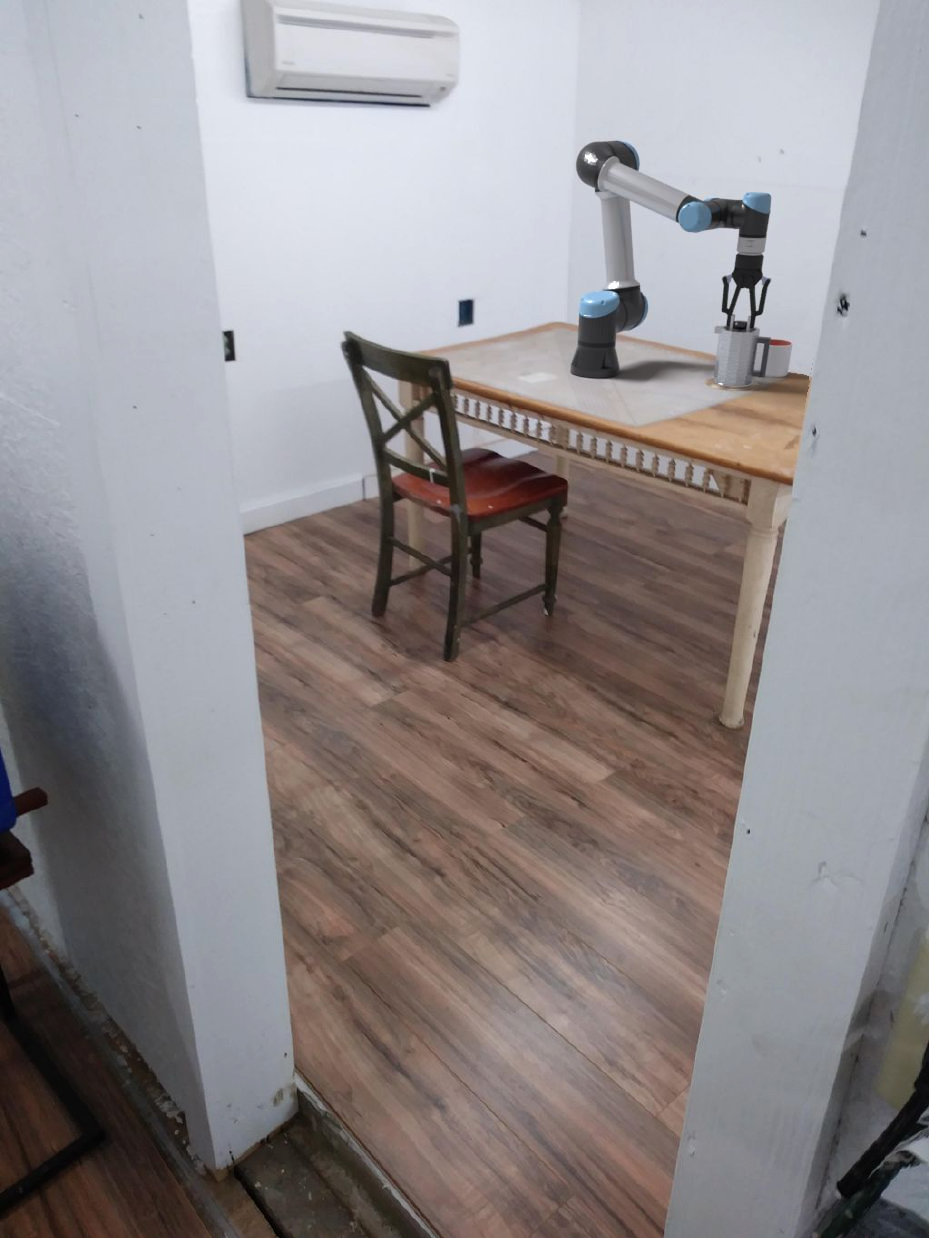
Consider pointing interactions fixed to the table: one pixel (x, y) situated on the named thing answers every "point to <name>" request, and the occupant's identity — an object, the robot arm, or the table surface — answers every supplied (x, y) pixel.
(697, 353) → the table surface
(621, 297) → the robot arm
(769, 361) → the cup
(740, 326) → the plunger
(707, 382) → the trivet
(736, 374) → the carafe
